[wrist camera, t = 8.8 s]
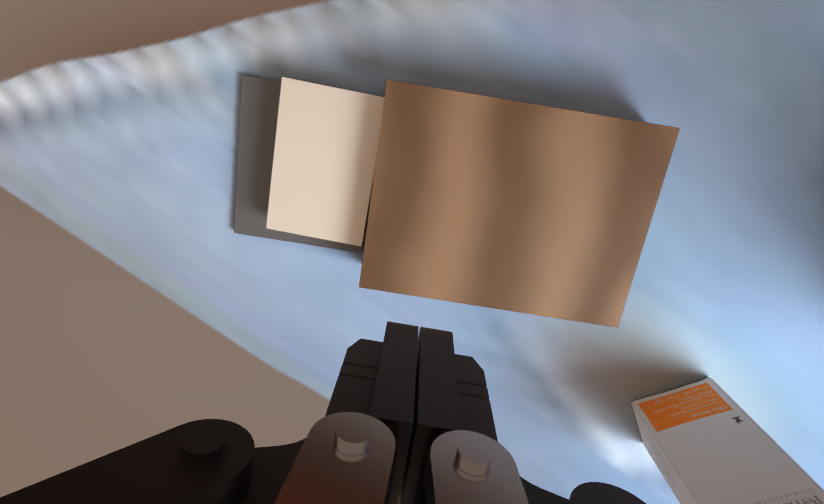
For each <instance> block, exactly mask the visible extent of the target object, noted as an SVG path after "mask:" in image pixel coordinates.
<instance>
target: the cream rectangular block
mask: <svg viewBox="0 0 824 504" xmlns="http://www.w3.org/2000/svg"><path fill="white" fill-rule="evenodd" d="M383 104H384V97H381V96H376V95H371V94H366V93H361V92H356V91H351V90H346V89H341V88H336V87H331V86H326V85H321V84H316V83H311V82H306V81H301V80H296V79H291V78H285V77H282V82H281V91H280V101H279V110H278V120H277V129H276V139H275V148H274V158H273V167H272V177H271V186H270V196H269V205H268V215H267V225H266V228H267V229H272V230H277V231H283V232H288V233H293V234H298V235H304V236H309V237H314V238H319V239H325V240H330V241H335V242H340V243H346V244H351V245H356V246H362V244H363V242H364V239H365V236H366V230H367V224H368V216H369V209H370V201H371V194H372V186H373V179H374V171H375V164H376V156H377V149H378V141H379V134H380V126H381V119H382V112H383Z"/></svg>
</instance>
